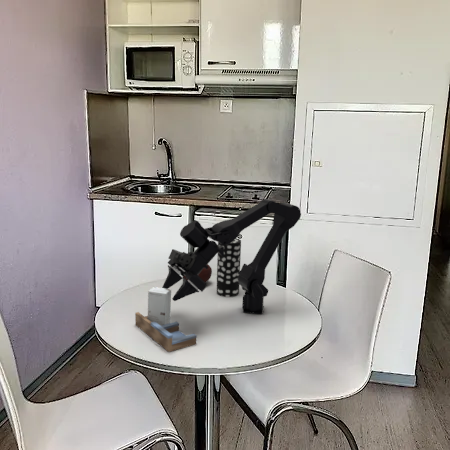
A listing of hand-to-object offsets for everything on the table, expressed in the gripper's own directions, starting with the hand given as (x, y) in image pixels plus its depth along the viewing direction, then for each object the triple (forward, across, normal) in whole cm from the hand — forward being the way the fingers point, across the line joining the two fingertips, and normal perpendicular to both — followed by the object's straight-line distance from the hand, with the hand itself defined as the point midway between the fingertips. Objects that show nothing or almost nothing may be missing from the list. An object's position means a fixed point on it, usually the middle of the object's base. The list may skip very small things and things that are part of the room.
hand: (167, 294), depth 150 cm
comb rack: (+9, +5, +5) cm, 12 cm away
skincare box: (+9, 0, +5) cm, 11 cm away
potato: (-9, -30, +24) cm, 40 cm away
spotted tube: (-14, -18, +28) cm, 37 cm away
